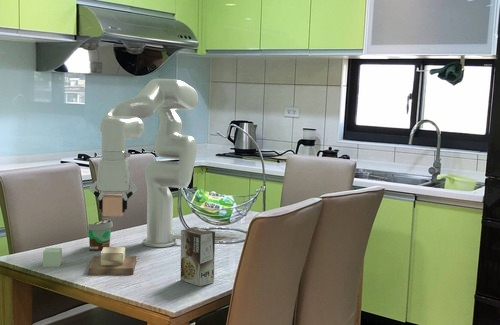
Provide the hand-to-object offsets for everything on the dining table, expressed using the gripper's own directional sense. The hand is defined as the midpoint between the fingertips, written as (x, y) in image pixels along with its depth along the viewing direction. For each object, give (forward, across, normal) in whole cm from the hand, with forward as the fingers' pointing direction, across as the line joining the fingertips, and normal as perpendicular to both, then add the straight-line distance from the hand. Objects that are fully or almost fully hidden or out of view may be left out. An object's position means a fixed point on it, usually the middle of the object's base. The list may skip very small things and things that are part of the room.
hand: (113, 211), depth 196 cm
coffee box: (+19, -27, +14) cm, 36 cm away
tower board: (+19, 0, 0) cm, 19 cm away
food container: (+19, +6, -24) cm, 31 cm away
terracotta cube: (+1, 0, 0) cm, 1 cm away
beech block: (+17, 0, 0) cm, 17 cm away
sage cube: (+19, +20, -4) cm, 28 cm away
